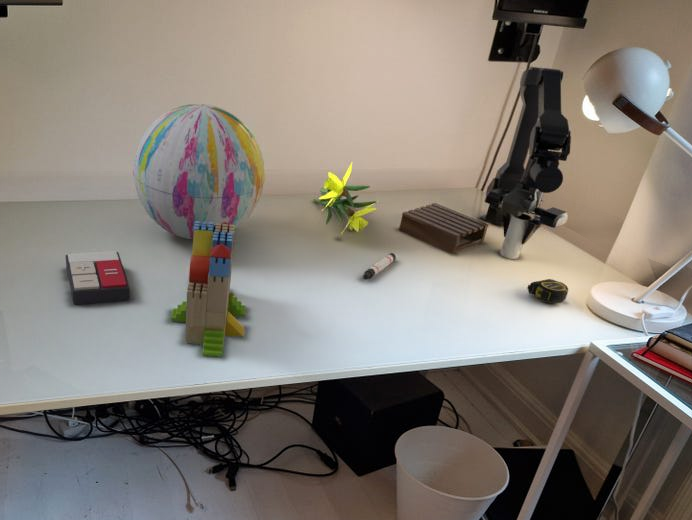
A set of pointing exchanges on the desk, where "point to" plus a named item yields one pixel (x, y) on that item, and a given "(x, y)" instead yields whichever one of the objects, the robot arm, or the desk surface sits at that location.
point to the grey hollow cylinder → (515, 236)
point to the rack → (442, 227)
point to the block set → (211, 290)
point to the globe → (198, 169)
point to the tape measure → (549, 290)
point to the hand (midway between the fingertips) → (514, 240)
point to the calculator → (97, 277)
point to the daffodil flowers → (344, 200)
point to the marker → (379, 266)
